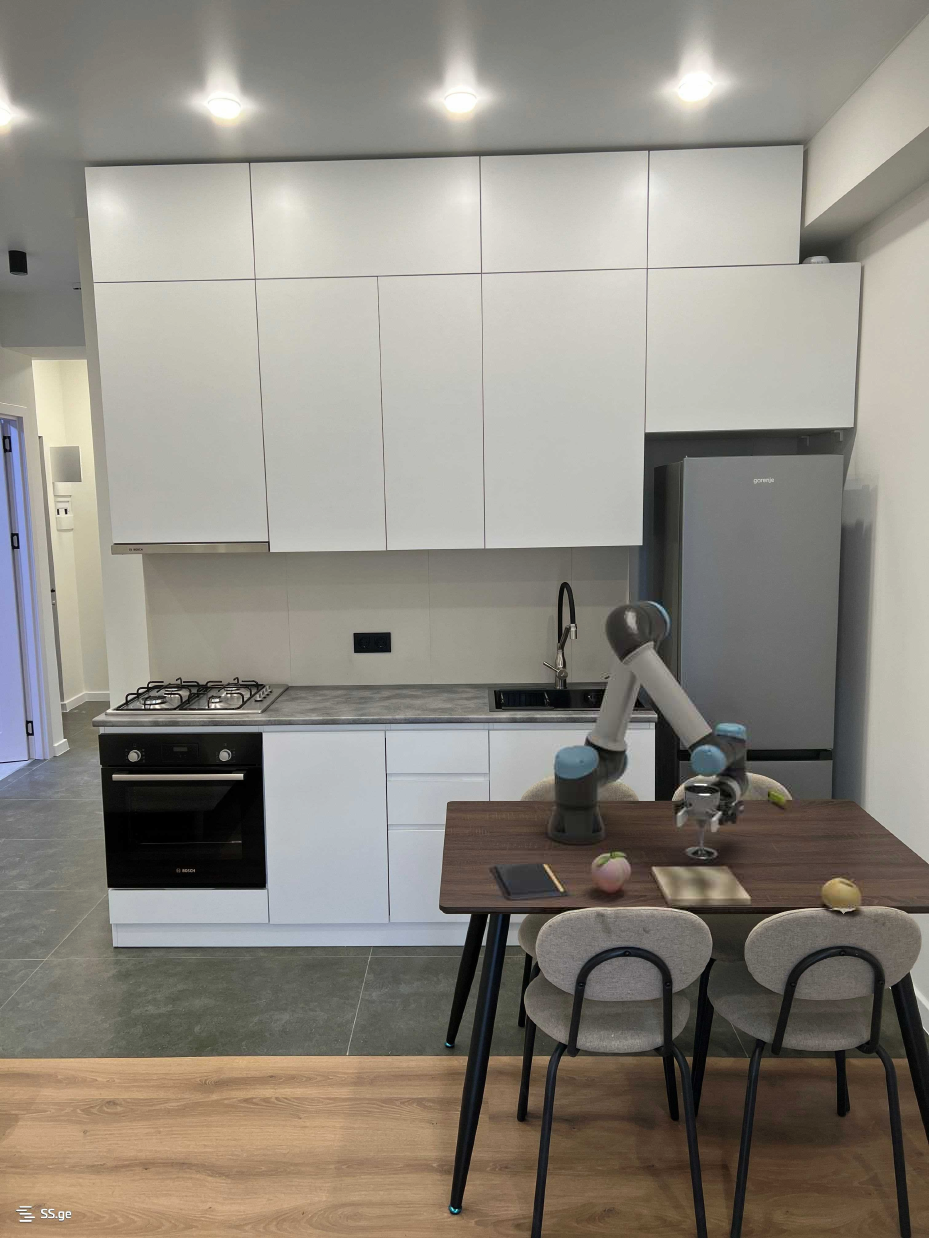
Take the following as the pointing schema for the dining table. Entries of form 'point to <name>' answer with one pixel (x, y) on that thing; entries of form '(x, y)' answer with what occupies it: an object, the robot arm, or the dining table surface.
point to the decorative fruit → (610, 871)
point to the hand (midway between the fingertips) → (695, 823)
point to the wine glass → (701, 813)
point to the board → (700, 886)
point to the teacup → (698, 781)
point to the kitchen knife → (770, 795)
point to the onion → (841, 894)
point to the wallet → (527, 881)
